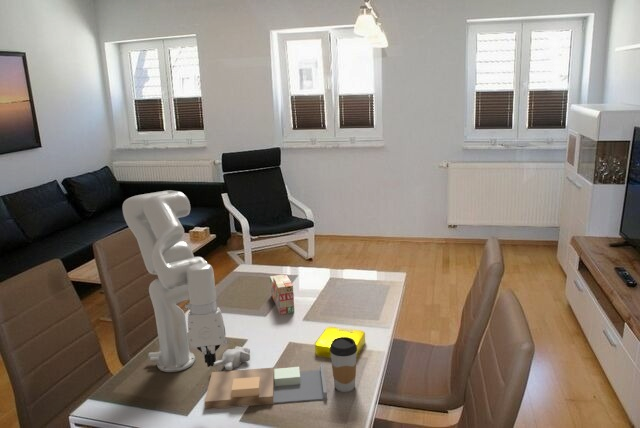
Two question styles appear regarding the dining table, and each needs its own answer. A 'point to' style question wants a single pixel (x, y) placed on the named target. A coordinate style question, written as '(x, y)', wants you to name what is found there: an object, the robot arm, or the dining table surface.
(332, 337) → the element tile
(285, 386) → the grey square tray
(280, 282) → the stack of blocks
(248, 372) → the board
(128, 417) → the dining table surface
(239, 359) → the bunny figurine
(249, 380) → the light orange flat block
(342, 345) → the coffee cup
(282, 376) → the sage tile
